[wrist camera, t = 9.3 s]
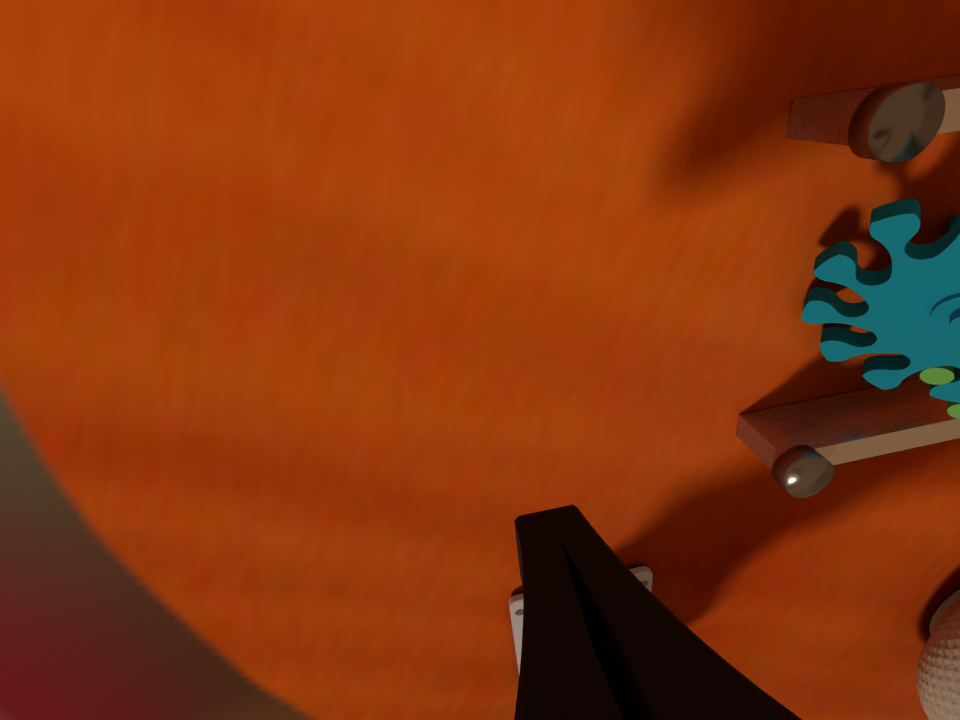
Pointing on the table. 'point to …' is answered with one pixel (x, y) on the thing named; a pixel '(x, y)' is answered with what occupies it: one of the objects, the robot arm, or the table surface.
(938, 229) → the table surface
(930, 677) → the cereal bowl
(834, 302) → the teal cogwheel
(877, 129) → the frame
